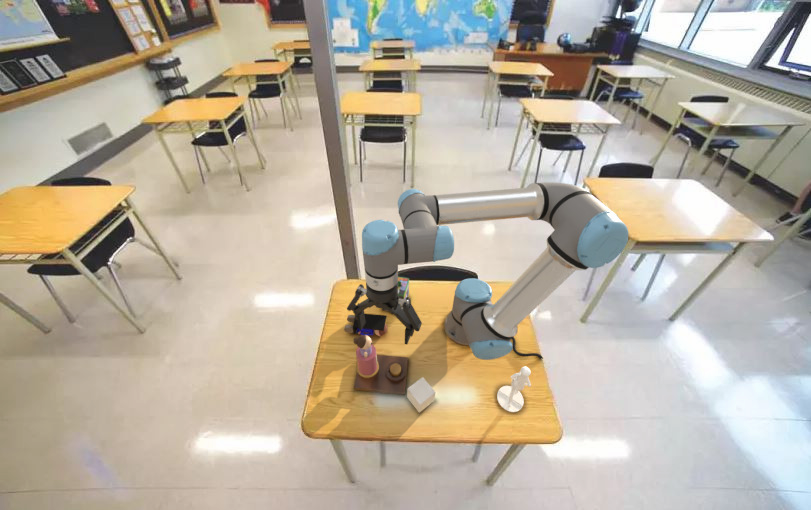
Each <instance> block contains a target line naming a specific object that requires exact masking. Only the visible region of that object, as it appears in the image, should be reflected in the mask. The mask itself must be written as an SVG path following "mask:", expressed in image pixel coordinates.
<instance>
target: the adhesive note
mask: <svg viewBox="0 0 811 510" xmlns="http://www.w3.org/2000/svg"><path fill="white" fill-rule="evenodd" d="M406 392H407V393H406V397H407V399H408V400H409V402H410V403H411V404H412V406H413V407H414V408H415V409H416V412H418V413H421V412H422V411H424V410H425V409H426V408H427V407H429V406H430V405H431V404H432V403H434V401H435V398H436V390H435V389H433V387H432V386H431V384H429V383H428V381H427V380H426V379H425V378H424V377H423V376H422V377H421V378H419V379H418V380H417V381H415V382H414V383H413V384H411V385H410V386H409V387H408V388H407V391H406Z"/></svg>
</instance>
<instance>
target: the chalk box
mask: <svg viewBox="0 0 811 510" xmlns="http://www.w3.org/2000/svg"><path fill="white" fill-rule="evenodd" d="M398 296H399V298H400V299H406V297H409V298H410V278H409V277H405V276H398ZM400 306H401V305H400ZM393 308H394V307H393ZM381 310H382V311H385V312H389V311H388V310H384V309H382V308H381Z"/></svg>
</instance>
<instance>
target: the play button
mask: <svg viewBox="0 0 811 510" xmlns="http://www.w3.org/2000/svg"><path fill="white" fill-rule="evenodd" d="M390 373H391V375H392V376H395V377H396V376H399V375H400V374H401V366H400V365H399V364H397V363H395V364H392V365H391V367H390Z"/></svg>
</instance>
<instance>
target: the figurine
mask: <svg viewBox="0 0 811 510" xmlns="http://www.w3.org/2000/svg"><path fill="white" fill-rule="evenodd" d="M531 373H532V371H531V369H530V368H529V367H528V366H522V367H521V368H520V369H519V372H515V373H514V374H512V375H511V376H510V379H511V382H510V385H503V386H501V387H500V388H499V389H498V390H497V393H496V400H497V402H498V404H499V405H500V407H501V408H502V409H503V410H505V411H507V412H509V413H517V412H519V411H521V410H522V408H523V407H524V404H525V401H524V397H523V394H522V393H521V391H523V390H524V389H525V386H526V387H529V388H530V387H531V386H532V384H531V380H530V378H529V377H530V376H531Z"/></svg>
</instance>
